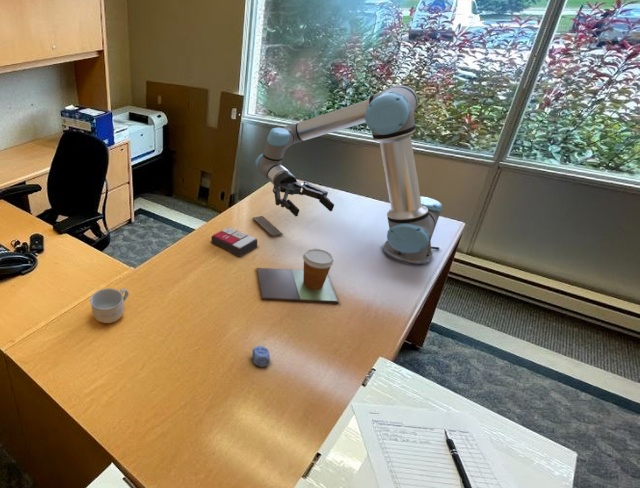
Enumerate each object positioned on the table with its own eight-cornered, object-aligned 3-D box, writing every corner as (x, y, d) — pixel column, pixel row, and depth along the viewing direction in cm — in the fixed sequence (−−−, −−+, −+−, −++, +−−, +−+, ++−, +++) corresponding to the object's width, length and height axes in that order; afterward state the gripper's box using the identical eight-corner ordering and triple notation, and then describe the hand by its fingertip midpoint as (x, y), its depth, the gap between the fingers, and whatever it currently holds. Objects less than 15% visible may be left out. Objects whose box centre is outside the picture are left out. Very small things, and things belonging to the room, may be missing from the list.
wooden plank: (252, 216, 187) (262, 214, 188) (252, 219, 187) (262, 216, 188) (272, 235, 173) (283, 233, 174) (272, 238, 174) (282, 235, 174)
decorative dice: (251, 355, 120) (253, 345, 118) (266, 356, 120) (267, 346, 118) (254, 366, 117) (255, 356, 115) (268, 367, 116) (270, 357, 114)
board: (325, 273, 151) (325, 270, 150) (337, 304, 136) (338, 301, 136) (256, 270, 155) (257, 267, 154) (262, 299, 140) (262, 297, 140)
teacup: (100, 332, 132) (98, 313, 128) (87, 312, 140) (84, 294, 136) (138, 316, 137) (137, 297, 133) (123, 298, 146) (122, 280, 142)
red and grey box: (228, 225, 177) (257, 237, 166) (228, 234, 179) (257, 246, 168) (211, 234, 172) (239, 247, 160) (211, 243, 174) (239, 257, 162)
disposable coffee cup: (293, 277, 148) (298, 249, 142) (319, 274, 148) (325, 246, 142) (306, 294, 140) (311, 265, 134) (333, 291, 140) (340, 262, 134)
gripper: (308, 184, 163) (342, 214, 147) (250, 191, 158) (279, 224, 142) (313, 167, 159) (350, 197, 142) (254, 174, 153) (285, 206, 137)
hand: (315, 210), depth 142 cm, fingers open, 13 cm apart
